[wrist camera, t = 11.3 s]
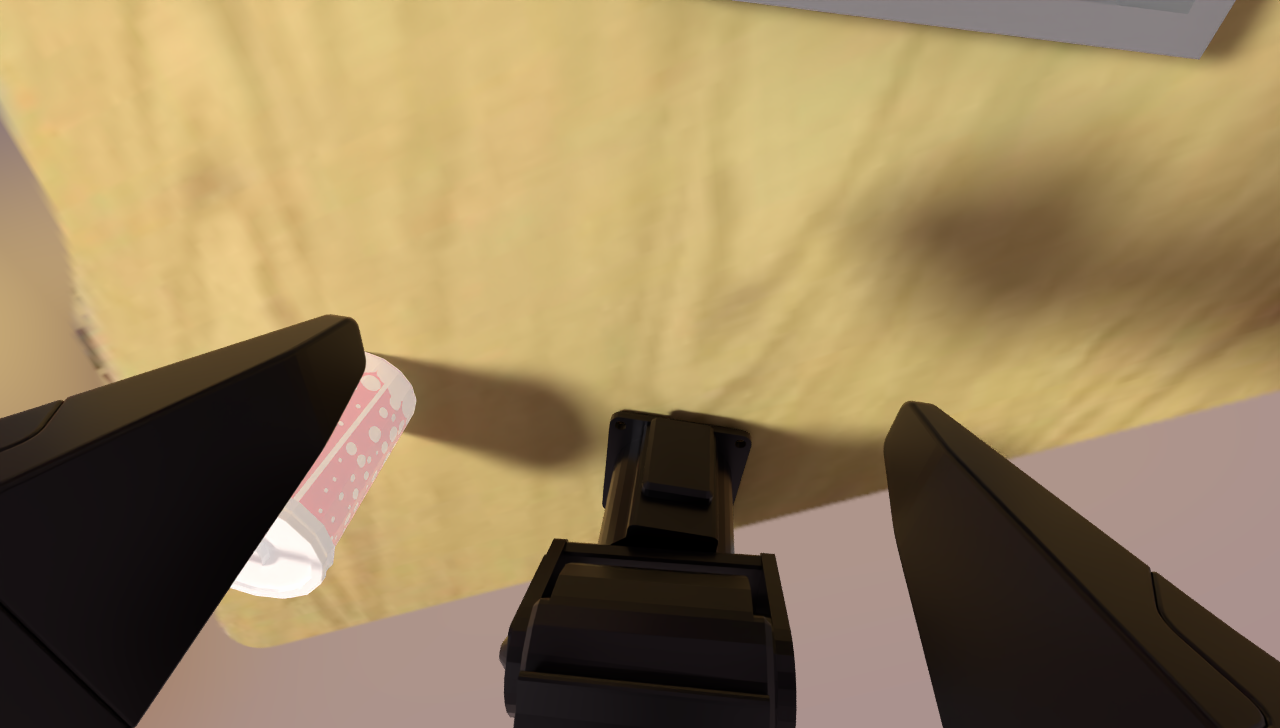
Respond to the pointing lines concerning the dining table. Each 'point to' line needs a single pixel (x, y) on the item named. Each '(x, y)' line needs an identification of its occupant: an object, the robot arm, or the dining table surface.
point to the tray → (1055, 19)
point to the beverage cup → (332, 487)
